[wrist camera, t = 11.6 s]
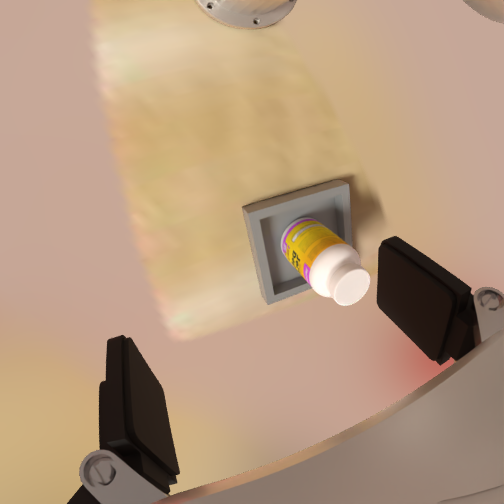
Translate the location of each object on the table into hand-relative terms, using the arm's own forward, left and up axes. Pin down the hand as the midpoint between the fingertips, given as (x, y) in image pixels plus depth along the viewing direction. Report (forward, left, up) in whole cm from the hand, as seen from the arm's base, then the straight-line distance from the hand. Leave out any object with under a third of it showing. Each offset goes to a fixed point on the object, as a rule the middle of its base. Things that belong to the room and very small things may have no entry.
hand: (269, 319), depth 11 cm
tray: (+14, +13, -28) cm, 34 cm away
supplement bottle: (+14, +13, -28) cm, 34 cm away
